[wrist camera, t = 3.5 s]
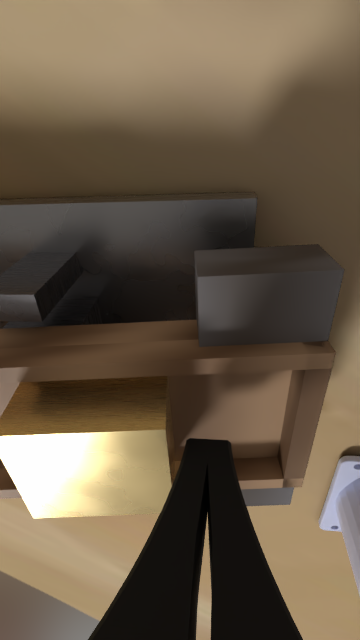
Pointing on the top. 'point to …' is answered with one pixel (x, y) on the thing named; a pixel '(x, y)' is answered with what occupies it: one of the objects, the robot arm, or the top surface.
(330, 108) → the top surface
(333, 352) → the brown wooden tray
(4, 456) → the yellow block
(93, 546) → the top surface
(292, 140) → the top surface
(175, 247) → the pivot stand
